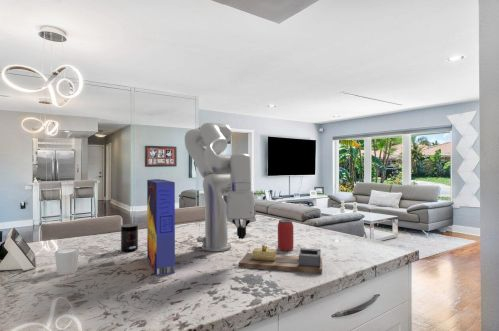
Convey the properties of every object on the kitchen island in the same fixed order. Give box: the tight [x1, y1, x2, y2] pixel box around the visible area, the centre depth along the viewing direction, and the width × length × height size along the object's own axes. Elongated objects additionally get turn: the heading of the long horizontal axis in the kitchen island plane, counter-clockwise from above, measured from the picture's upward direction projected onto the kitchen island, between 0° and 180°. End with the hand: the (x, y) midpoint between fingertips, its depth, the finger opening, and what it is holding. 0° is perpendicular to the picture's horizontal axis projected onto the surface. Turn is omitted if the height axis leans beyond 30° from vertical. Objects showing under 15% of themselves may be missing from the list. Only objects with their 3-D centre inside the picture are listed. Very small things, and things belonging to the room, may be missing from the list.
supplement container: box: [120, 223, 139, 253], centre depth 123 cm, size 7×7×10 cm
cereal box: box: [146, 178, 176, 277], centre depth 105 cm, size 22×6×30 cm, turn 26°
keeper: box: [298, 247, 322, 267], centre depth 102 cm, size 7×9×4 cm
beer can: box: [277, 219, 294, 252], centre depth 124 cm, size 7×7×12 cm
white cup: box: [54, 247, 80, 276], centre depth 98 cm, size 7×7×7 cm
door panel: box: [238, 252, 323, 275], centre depth 105 cm, size 28×12×2 cm, turn 76°
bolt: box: [252, 244, 278, 261], centre depth 106 cm, size 8×4×5 cm, turn 76°
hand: (241, 237), depth 108 cm, fingers closed
